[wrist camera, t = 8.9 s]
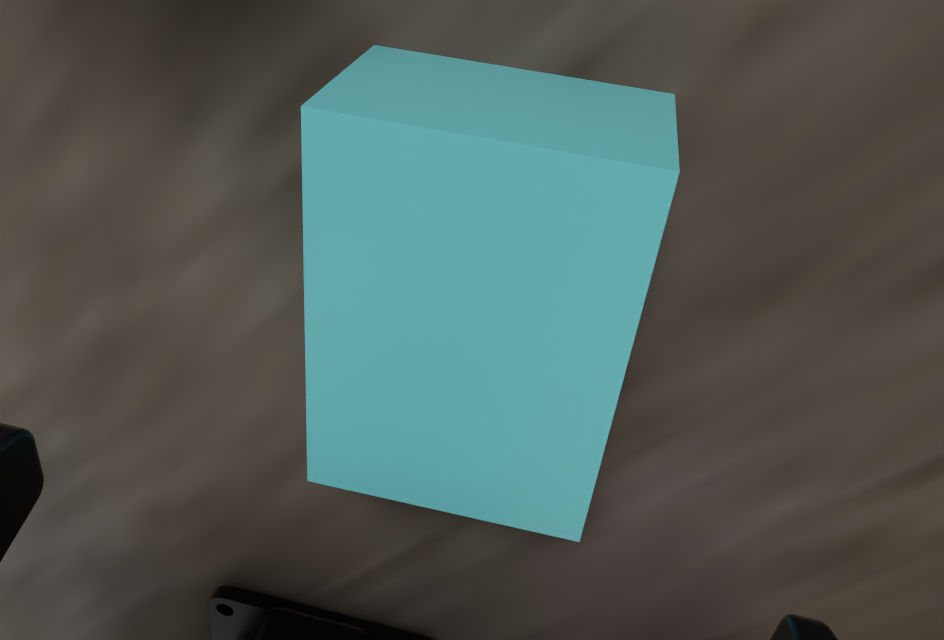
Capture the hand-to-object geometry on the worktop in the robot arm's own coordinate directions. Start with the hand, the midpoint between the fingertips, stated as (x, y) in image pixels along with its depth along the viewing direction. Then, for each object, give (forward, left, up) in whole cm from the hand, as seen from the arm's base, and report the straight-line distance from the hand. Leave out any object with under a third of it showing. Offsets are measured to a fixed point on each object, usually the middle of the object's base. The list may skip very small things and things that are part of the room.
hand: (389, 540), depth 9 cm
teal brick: (0, 0, -7) cm, 7 cm away
